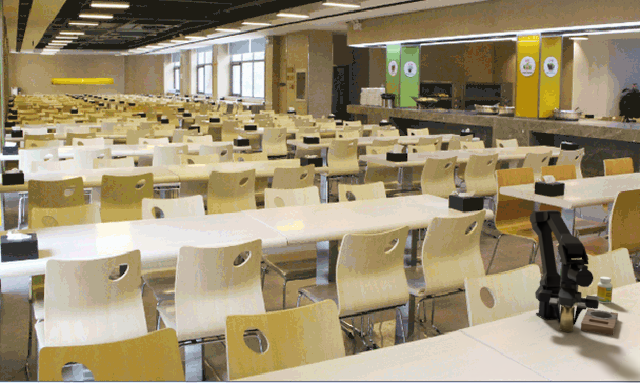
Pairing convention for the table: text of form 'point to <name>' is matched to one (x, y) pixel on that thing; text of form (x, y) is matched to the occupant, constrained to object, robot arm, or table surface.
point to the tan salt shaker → (567, 318)
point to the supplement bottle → (604, 290)
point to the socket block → (599, 321)
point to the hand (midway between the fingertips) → (566, 323)
